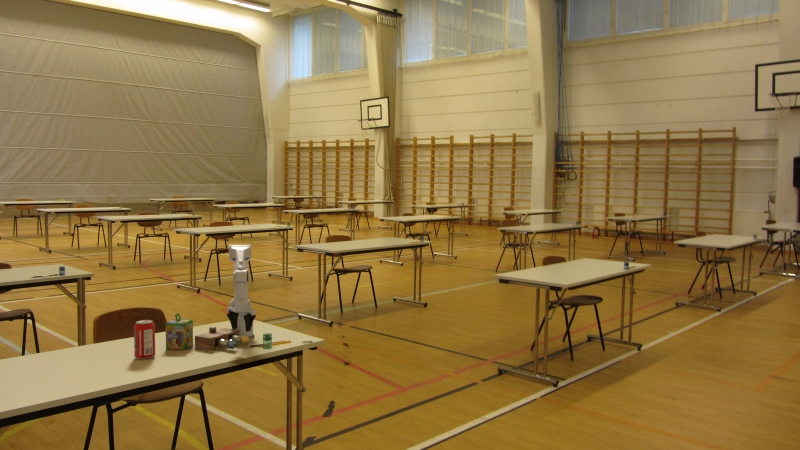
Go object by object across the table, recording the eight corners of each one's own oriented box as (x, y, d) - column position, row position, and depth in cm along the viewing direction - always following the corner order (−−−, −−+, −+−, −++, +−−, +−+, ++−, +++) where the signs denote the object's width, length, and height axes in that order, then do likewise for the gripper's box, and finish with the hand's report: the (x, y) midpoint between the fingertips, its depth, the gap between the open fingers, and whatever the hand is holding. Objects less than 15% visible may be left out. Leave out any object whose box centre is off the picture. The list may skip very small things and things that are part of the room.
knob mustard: (230, 340, 275) (230, 332, 274) (249, 343, 269) (249, 335, 269) (224, 342, 271) (224, 334, 271) (243, 345, 266) (243, 337, 266)
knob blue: (217, 344, 268) (217, 336, 267) (236, 347, 262) (236, 339, 262) (211, 346, 264) (211, 337, 264) (230, 349, 259) (230, 341, 259)
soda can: (147, 360, 244) (147, 324, 243) (130, 359, 246) (129, 322, 245) (159, 355, 252) (158, 319, 251) (142, 354, 253) (141, 318, 253)
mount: (224, 339, 280) (224, 327, 280) (239, 341, 276) (239, 330, 276) (194, 348, 265) (194, 335, 264) (210, 350, 260) (210, 338, 260)
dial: (212, 331, 274) (212, 326, 273) (217, 331, 272) (217, 327, 272) (207, 332, 271) (207, 327, 271) (212, 333, 269) (212, 328, 269)
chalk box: (186, 350, 261) (185, 315, 261) (165, 349, 262) (164, 315, 261) (194, 344, 271) (193, 311, 270) (173, 344, 271) (173, 311, 270)
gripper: (221, 298, 257) (221, 330, 258) (247, 301, 250) (247, 334, 251) (233, 295, 263) (233, 326, 264) (259, 298, 256) (259, 330, 257)
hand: (241, 330), depth 258 cm, fingers open, 7 cm apart
